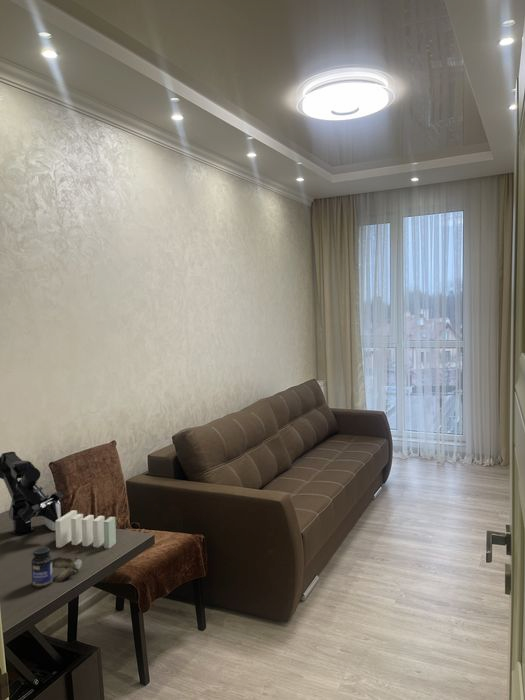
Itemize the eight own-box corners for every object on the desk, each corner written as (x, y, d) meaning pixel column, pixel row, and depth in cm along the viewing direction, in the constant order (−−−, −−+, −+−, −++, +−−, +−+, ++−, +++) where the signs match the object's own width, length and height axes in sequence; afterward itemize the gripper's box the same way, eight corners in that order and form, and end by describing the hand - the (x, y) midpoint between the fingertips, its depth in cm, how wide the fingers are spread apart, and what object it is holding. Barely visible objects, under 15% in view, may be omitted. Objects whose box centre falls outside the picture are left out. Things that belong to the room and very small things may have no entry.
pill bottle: (30, 589, 166) (29, 555, 165) (34, 580, 172) (33, 547, 171) (51, 587, 167) (50, 553, 167) (54, 578, 173) (53, 545, 173)
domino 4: (93, 546, 197) (92, 520, 196) (100, 541, 202) (99, 515, 201) (98, 547, 196) (97, 521, 196) (105, 541, 201) (104, 516, 200)
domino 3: (82, 545, 198) (81, 519, 197) (89, 540, 203) (89, 514, 202) (87, 546, 197) (86, 520, 197) (94, 540, 202) (93, 515, 201)
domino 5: (104, 548, 196) (103, 521, 195) (111, 542, 200) (110, 516, 200) (109, 548, 195) (108, 522, 195) (115, 542, 200) (115, 517, 199)
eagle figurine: (70, 563, 181) (45, 568, 174) (78, 548, 179) (54, 552, 172) (78, 581, 177) (53, 587, 170) (87, 566, 175) (62, 571, 168)
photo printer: (43, 524, 218) (42, 495, 217) (54, 522, 221) (53, 492, 220) (51, 532, 210) (50, 501, 210) (62, 529, 213) (61, 499, 212)
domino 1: (56, 547, 197) (55, 520, 196) (73, 535, 208) (72, 510, 207) (60, 547, 196) (60, 521, 196) (77, 535, 207) (77, 510, 206)
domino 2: (71, 544, 199) (70, 518, 198) (79, 539, 204) (78, 513, 203) (76, 545, 198) (75, 519, 198) (83, 539, 203) (83, 514, 202)
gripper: (34, 496, 215) (59, 526, 213) (1, 513, 197) (28, 545, 195) (51, 479, 212) (76, 508, 210) (19, 494, 194) (46, 526, 192)
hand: (57, 522), depth 202 cm, fingers closed
